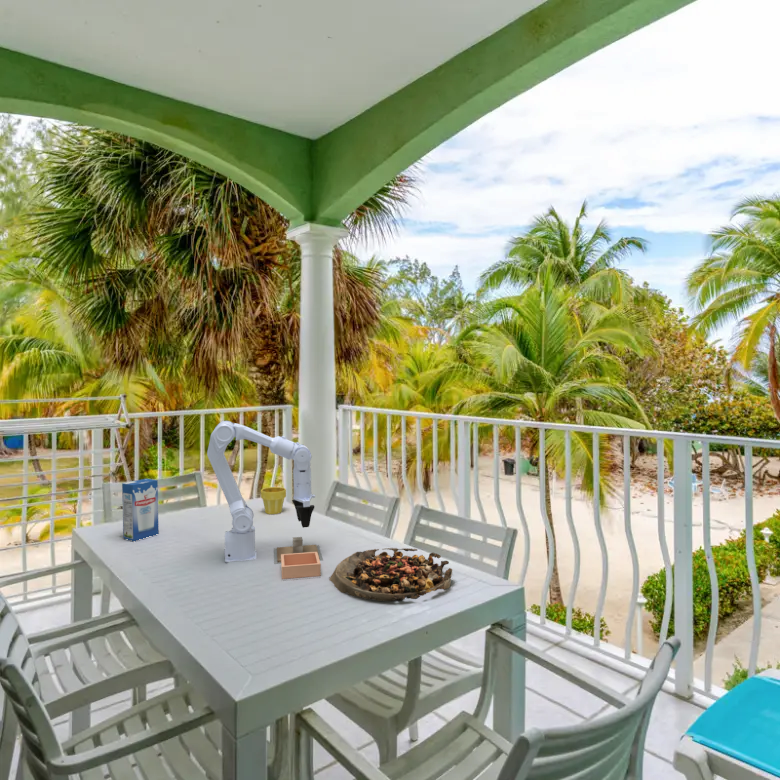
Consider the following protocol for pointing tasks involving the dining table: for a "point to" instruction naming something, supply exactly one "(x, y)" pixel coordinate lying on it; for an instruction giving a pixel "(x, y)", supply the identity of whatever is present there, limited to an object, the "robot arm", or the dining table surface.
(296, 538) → the lid
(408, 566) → the food dish
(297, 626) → the dining table surface
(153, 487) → the milk carton
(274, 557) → the mat
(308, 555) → the pink shallow tray
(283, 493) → the plant pot
